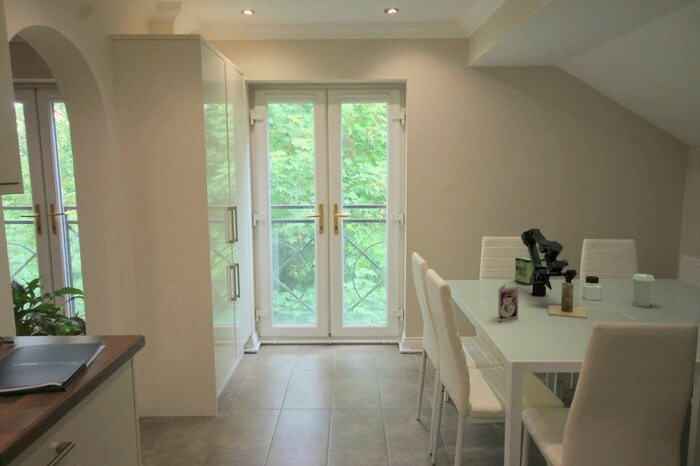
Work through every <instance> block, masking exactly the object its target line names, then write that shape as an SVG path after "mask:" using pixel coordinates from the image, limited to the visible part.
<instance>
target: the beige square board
mask: <svg viewBox="0 0 700 466" xmlns="http://www.w3.org/2000/svg"><path fill="white" fill-rule="evenodd" d="M548 316H553V317H556V316H557V317H566V318H567V317H568V318H576V319H577V318H579V319H588V315H587V312H586V308H585V307H577V306H573V311H572V312H564V311H562V310H561V305H556V304H555V305H554V304H548Z"/></svg>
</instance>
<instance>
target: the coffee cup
mask: <svg viewBox="0 0 700 466" xmlns="http://www.w3.org/2000/svg"><path fill="white" fill-rule="evenodd" d="M631 279H632V281H633V297H634V299H633V301H634V305H635V306H638V307H645V308H648V307H650V306H651V302H652V296H653V295H652V294H653V288H654V282H655V281H656V279H655V277H654V275H653V274H648V273H636V274H634V275H633V276H632V278H631Z"/></svg>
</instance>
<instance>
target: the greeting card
mask: <svg viewBox="0 0 700 466" xmlns="http://www.w3.org/2000/svg"><path fill="white" fill-rule="evenodd" d="M519 294H520V293H519V286H514V287H508V288H506V284H504V285H502V286H501V287H500V288H499V289H498V307H497V309H498V310H497V311H498V313H497V322H498V323H500V322H499V321H503V322H507V321H506V320H509V321H514V320H513V319H515V320H519Z"/></svg>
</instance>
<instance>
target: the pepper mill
mask: <svg viewBox="0 0 700 466" xmlns="http://www.w3.org/2000/svg"><path fill="white" fill-rule="evenodd" d="M574 287H575V286H574V283H572V282H571V283H566V282H561V300H560V301H561V303H560V304H561V305H560V306H561V310H562V311H564V312H572V311H573V307H574Z"/></svg>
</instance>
